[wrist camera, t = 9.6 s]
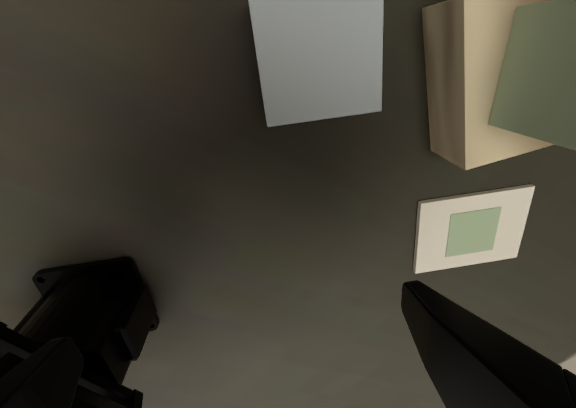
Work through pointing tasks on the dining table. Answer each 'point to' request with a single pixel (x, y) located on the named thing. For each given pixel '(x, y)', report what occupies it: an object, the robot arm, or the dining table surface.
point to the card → (470, 228)
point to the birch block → (469, 80)
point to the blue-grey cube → (318, 58)
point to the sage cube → (539, 74)
